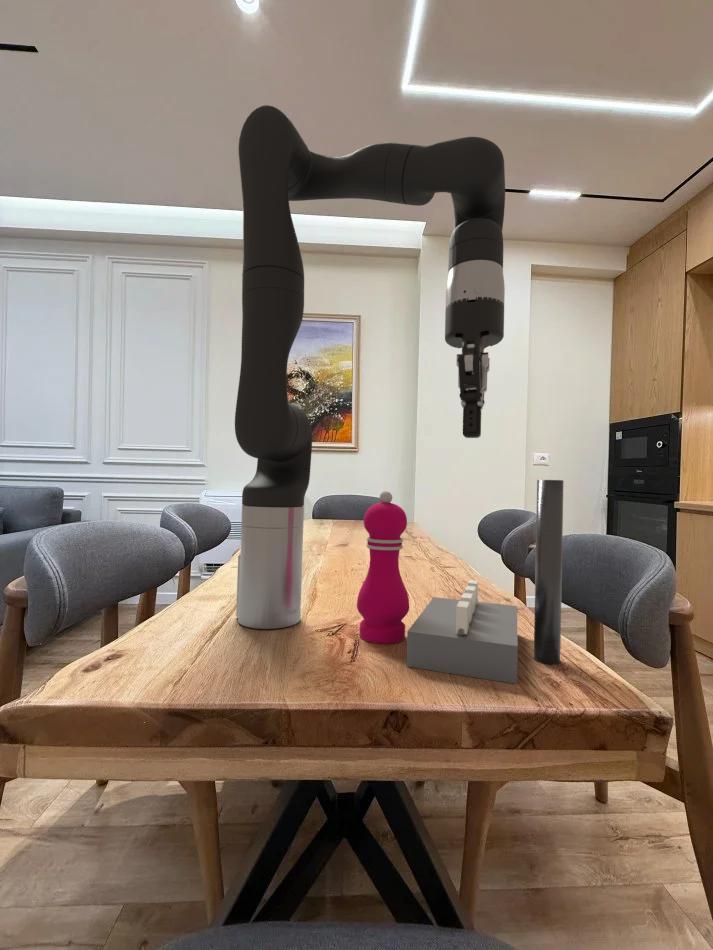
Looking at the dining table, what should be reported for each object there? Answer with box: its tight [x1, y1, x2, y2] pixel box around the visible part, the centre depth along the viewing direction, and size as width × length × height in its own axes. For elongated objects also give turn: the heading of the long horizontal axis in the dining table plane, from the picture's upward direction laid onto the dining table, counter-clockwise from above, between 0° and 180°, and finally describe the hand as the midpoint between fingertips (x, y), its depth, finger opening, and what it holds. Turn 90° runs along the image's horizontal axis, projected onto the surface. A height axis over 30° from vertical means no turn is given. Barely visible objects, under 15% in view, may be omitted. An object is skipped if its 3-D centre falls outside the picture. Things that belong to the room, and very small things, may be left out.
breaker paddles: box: [456, 579, 479, 635], centre depth 59 cm, size 1×16×3 cm, turn 160°
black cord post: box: [533, 479, 564, 665], centre depth 56 cm, size 3×3×22 cm
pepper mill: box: [356, 490, 410, 645], centre depth 63 cm, size 7×7×20 cm
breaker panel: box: [406, 596, 519, 685], centre depth 59 cm, size 12×18×4 cm, turn 161°
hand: (471, 437), depth 60 cm, fingers closed
